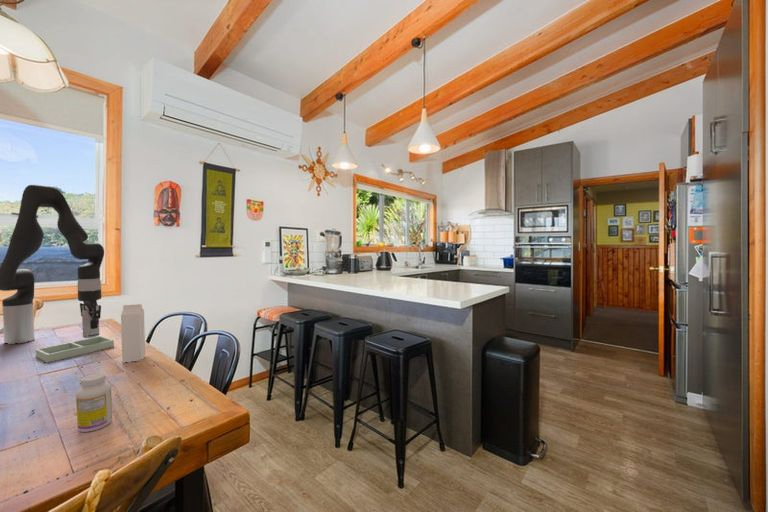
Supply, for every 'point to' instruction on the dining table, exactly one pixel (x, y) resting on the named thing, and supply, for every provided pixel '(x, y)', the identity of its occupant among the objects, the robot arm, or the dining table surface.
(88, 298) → the robot arm
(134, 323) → the milk
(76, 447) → the dining table surface
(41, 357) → the caddy
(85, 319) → the energy drink
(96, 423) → the supplement bottle
